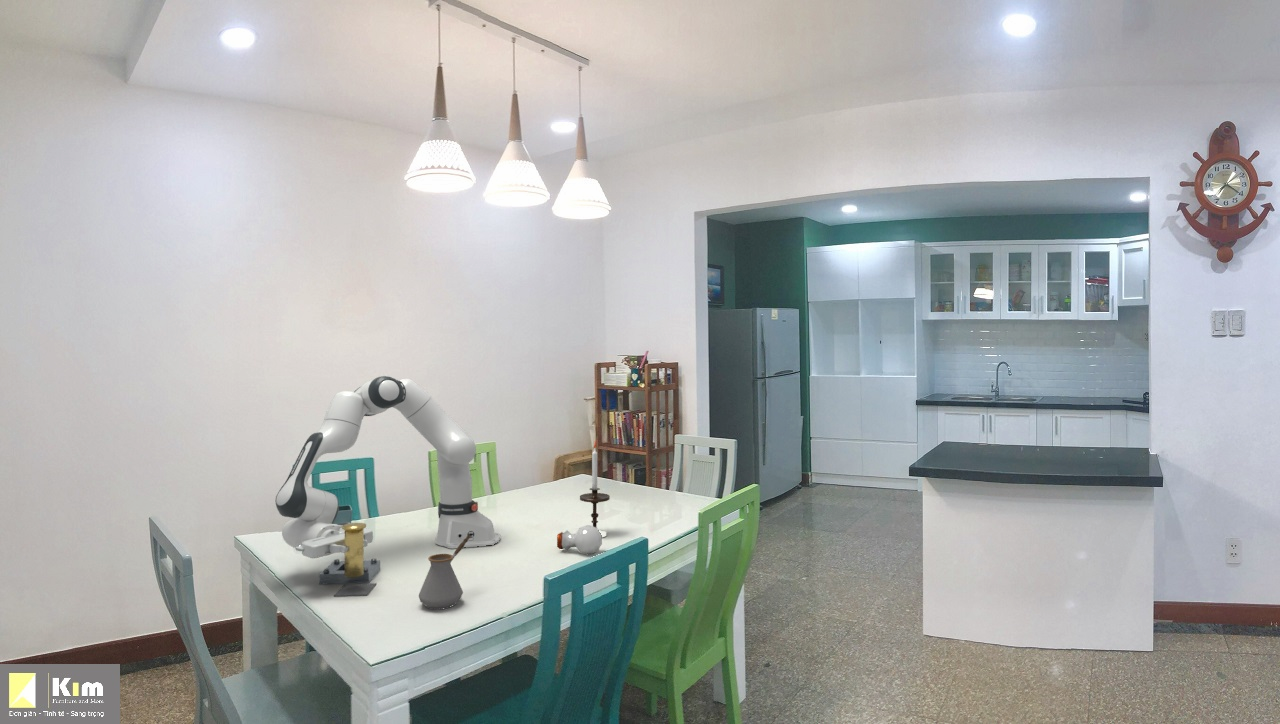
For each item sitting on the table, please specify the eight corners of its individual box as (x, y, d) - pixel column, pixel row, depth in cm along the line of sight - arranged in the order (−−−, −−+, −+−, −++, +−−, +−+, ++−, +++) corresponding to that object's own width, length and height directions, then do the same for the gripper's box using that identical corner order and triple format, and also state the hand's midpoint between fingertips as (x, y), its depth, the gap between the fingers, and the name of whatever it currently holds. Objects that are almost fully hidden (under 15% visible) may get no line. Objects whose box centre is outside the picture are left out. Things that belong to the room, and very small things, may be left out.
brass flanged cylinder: (369, 570, 205) (369, 522, 205) (362, 578, 199) (362, 528, 198) (346, 571, 205) (346, 522, 204) (338, 578, 198) (338, 528, 198)
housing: (380, 569, 220) (380, 557, 220) (368, 583, 208) (368, 570, 208) (333, 571, 219) (333, 558, 219) (319, 584, 207) (319, 571, 207)
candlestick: (600, 529, 267) (600, 437, 266) (615, 536, 258) (615, 440, 257) (574, 534, 261) (574, 439, 260) (588, 541, 252) (589, 442, 251)
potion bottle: (602, 560, 235) (561, 561, 240) (608, 536, 243) (568, 538, 247) (594, 542, 230) (551, 543, 234) (600, 518, 237) (559, 520, 242)
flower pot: (326, 537, 257) (326, 512, 256) (325, 531, 264) (324, 507, 264) (352, 533, 261) (352, 509, 260) (350, 528, 269) (350, 504, 268)
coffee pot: (447, 614, 185) (447, 557, 184) (409, 609, 188) (409, 553, 187) (488, 587, 205) (488, 535, 205) (453, 583, 208) (453, 532, 208)
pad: (376, 584, 207) (376, 583, 207) (367, 595, 198) (367, 594, 198) (344, 585, 206) (344, 584, 206) (333, 596, 197) (333, 595, 197)
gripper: (291, 536, 199) (323, 544, 192) (354, 521, 217) (385, 527, 210) (292, 559, 199) (323, 567, 192) (354, 541, 217) (385, 549, 210)
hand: (356, 546), depth 201 cm, fingers closed on brass flanged cylinder, 5 cm apart
